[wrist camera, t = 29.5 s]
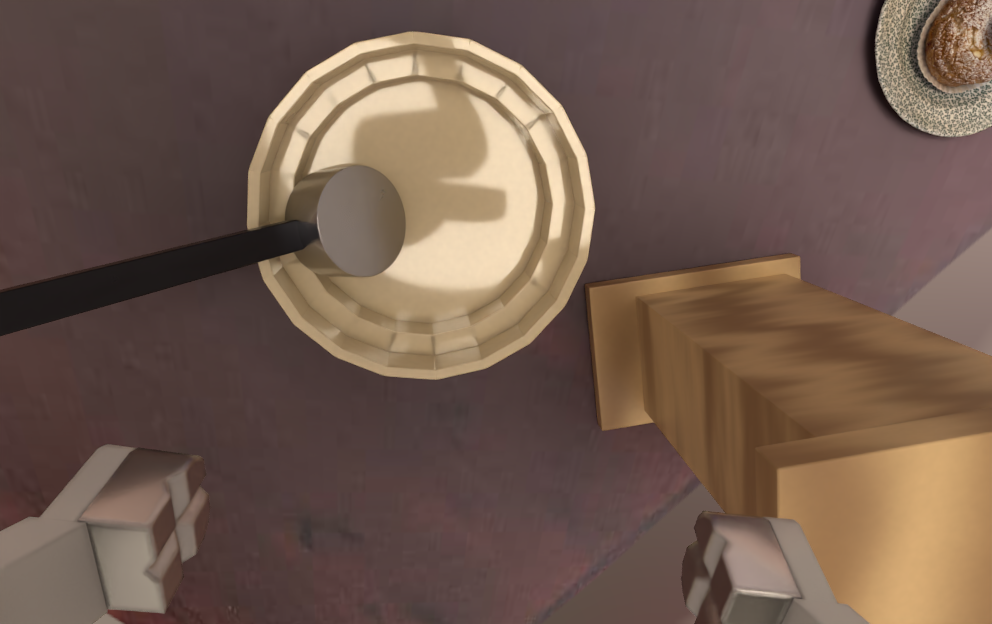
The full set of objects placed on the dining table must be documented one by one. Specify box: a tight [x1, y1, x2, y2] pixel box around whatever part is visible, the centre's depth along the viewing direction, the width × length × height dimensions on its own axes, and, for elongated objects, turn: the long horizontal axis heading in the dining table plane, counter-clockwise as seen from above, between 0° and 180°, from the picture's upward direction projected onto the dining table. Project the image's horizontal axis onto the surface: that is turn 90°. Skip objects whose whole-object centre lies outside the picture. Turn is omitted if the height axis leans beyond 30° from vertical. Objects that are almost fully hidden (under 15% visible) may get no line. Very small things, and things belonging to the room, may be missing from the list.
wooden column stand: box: [585, 253, 992, 624], centre depth 34 cm, size 14×10×25 cm
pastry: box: [875, 0, 992, 137], centre depth 40 cm, size 12×12×5 cm
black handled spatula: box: [0, 165, 406, 336], centre depth 32 cm, size 22×6×3 cm
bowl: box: [247, 31, 595, 380], centre depth 39 cm, size 18×18×6 cm
